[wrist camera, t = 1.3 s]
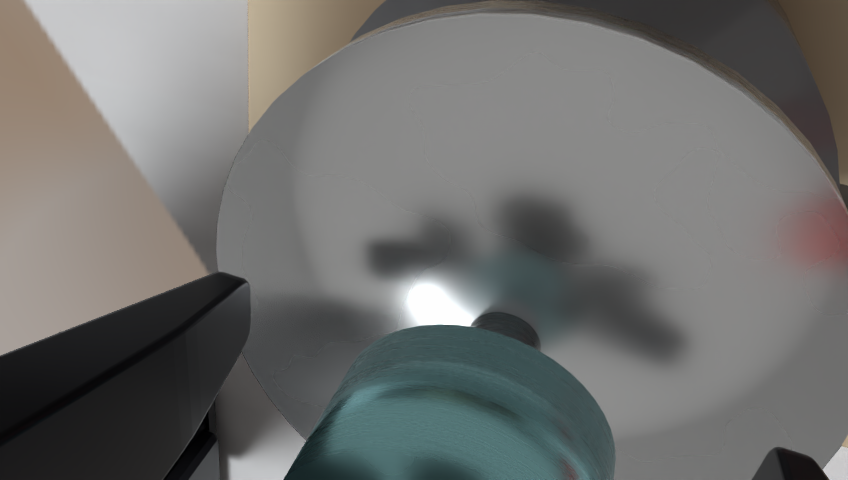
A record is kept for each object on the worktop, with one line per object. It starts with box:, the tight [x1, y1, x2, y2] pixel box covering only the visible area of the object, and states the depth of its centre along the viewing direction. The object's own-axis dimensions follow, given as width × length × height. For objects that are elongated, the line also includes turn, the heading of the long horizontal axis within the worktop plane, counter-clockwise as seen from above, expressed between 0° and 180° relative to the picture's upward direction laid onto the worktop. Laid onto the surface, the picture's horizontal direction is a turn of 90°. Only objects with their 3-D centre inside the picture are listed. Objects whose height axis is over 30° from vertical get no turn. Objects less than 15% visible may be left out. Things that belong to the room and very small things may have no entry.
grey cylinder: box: [350, 0, 848, 210], centre depth 14 cm, size 12×9×4 cm
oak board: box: [248, 0, 848, 448], centre depth 16 cm, size 18×13×1 cm
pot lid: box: [216, 0, 848, 480], centre depth 8 cm, size 9×9×4 cm
